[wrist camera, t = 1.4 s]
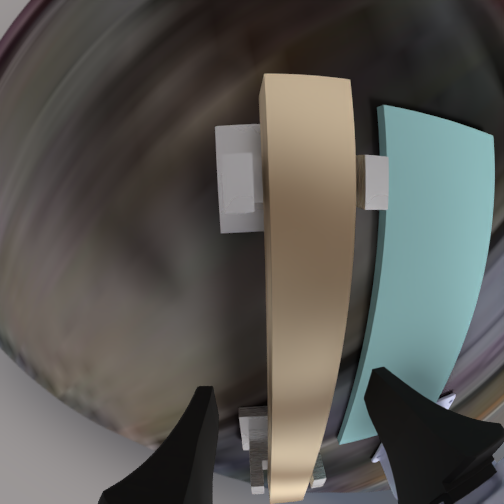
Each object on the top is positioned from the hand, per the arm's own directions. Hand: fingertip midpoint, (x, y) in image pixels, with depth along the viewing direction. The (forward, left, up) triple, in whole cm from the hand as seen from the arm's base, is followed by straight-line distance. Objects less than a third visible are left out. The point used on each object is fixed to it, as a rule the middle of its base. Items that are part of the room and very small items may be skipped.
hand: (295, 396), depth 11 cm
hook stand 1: (+9, 0, -5) cm, 10 cm away
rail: (0, 0, -1) cm, 1 cm away
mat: (0, -11, -5) cm, 12 cm away
